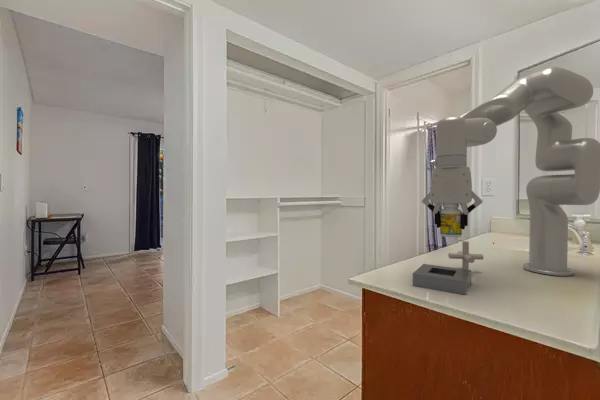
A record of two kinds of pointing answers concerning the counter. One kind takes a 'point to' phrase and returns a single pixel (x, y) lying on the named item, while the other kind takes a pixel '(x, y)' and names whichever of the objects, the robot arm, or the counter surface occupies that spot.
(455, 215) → the supplement bottle
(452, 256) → the pipe connector
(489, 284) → the counter surface
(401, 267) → the counter surface
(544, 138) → the robot arm
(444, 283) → the socket block
